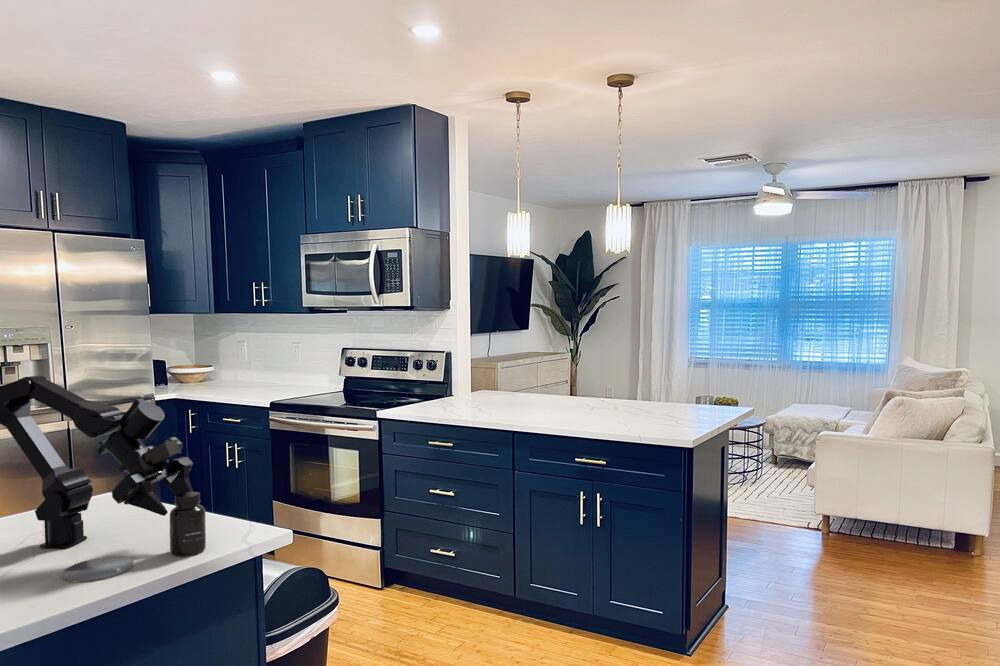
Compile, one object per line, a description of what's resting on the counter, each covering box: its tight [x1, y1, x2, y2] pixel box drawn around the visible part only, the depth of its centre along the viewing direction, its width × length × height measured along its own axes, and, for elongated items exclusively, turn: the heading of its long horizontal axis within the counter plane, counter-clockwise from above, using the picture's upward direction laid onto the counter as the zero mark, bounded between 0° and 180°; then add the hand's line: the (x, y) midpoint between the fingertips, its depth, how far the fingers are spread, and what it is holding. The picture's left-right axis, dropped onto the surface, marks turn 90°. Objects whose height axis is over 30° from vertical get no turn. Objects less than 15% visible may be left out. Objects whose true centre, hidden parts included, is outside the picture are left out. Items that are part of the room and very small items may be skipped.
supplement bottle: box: [169, 491, 207, 557], centre depth 144 cm, size 7×7×12 cm
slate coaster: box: [61, 555, 135, 582], centre depth 135 cm, size 12×12×1 cm
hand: (180, 507), depth 144 cm, fingers open, 9 cm apart
